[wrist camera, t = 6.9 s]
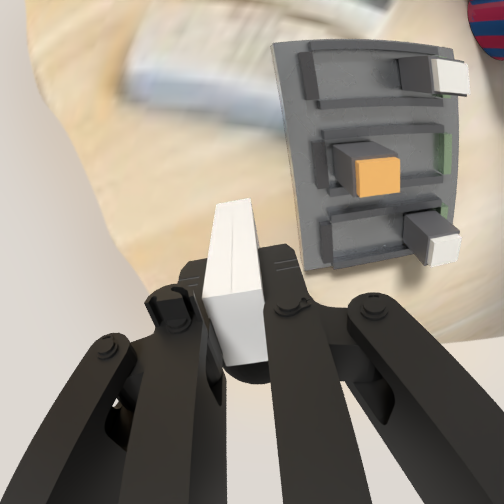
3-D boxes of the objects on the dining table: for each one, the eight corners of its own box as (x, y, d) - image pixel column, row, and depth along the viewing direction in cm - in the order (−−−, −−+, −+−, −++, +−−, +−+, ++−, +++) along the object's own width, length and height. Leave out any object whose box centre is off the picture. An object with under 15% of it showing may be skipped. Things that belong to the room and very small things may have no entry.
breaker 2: (404, 214, 21) (432, 241, 18) (434, 209, 21) (464, 234, 18) (402, 240, 23) (428, 270, 19) (431, 235, 23) (458, 262, 19)
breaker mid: (332, 144, 19) (354, 160, 15) (372, 140, 19) (402, 155, 15) (335, 178, 20) (357, 201, 16) (374, 173, 20) (402, 195, 16)
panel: (270, 46, 17) (274, 41, 15) (441, 49, 16) (458, 48, 14) (301, 260, 25) (306, 276, 23) (441, 235, 25) (454, 247, 23)
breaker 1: (398, 57, 15) (433, 55, 12) (431, 60, 15) (469, 61, 11) (402, 90, 17) (437, 94, 13) (435, 91, 16) (472, 97, 13)
